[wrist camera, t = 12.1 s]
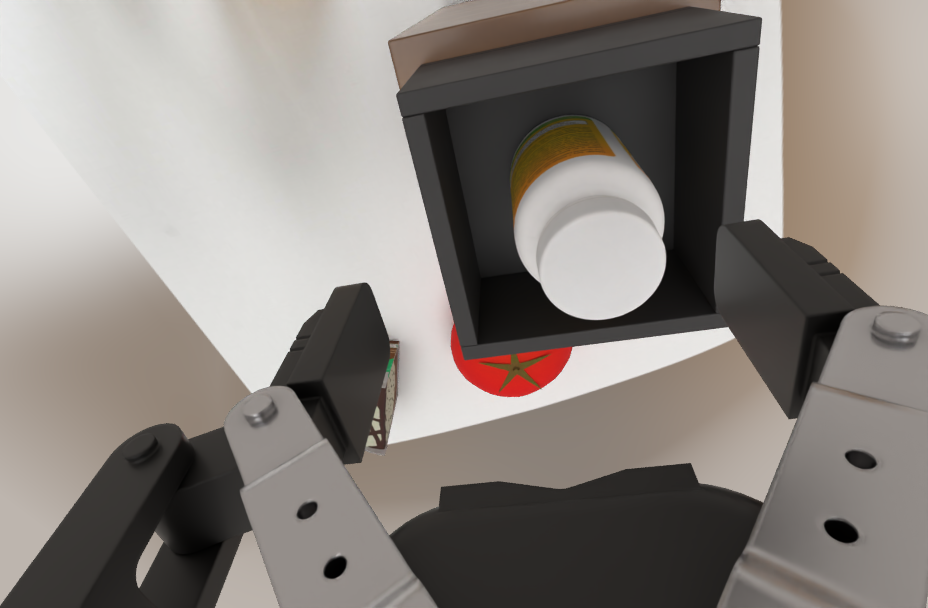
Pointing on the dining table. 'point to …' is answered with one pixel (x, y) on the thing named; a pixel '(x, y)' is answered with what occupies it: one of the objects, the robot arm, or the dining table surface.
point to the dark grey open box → (633, 121)
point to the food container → (385, 405)
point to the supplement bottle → (586, 218)
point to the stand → (511, 26)
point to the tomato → (511, 369)
